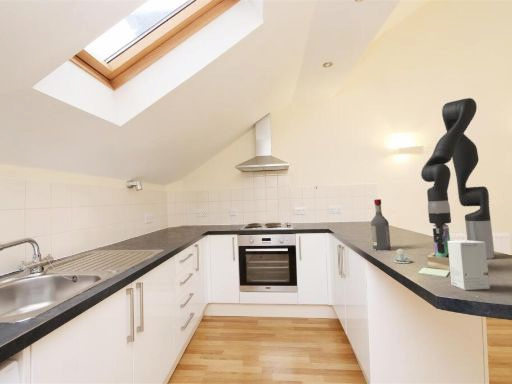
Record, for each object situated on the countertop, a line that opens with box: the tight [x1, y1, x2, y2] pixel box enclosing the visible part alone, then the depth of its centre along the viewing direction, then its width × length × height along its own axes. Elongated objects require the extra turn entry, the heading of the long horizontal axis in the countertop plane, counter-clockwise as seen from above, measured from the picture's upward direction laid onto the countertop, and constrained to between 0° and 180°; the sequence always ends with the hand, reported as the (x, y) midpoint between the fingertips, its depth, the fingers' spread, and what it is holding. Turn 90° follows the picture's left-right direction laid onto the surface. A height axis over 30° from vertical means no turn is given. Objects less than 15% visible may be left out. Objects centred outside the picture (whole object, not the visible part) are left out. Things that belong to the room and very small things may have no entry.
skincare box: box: [447, 240, 491, 291], centre depth 83 cm, size 8×6×15 cm
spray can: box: [432, 224, 451, 258], centre depth 106 cm, size 6×6×20 cm
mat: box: [417, 267, 450, 278], centre depth 100 cm, size 9×9×1 cm
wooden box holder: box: [426, 252, 450, 271], centre depth 106 cm, size 10×10×5 cm
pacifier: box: [392, 248, 411, 264], centre depth 119 cm, size 7×6×6 cm
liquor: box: [370, 198, 392, 251], centre depth 153 cm, size 9×9×30 cm
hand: (442, 251), depth 106 cm, fingers open, 6 cm apart
